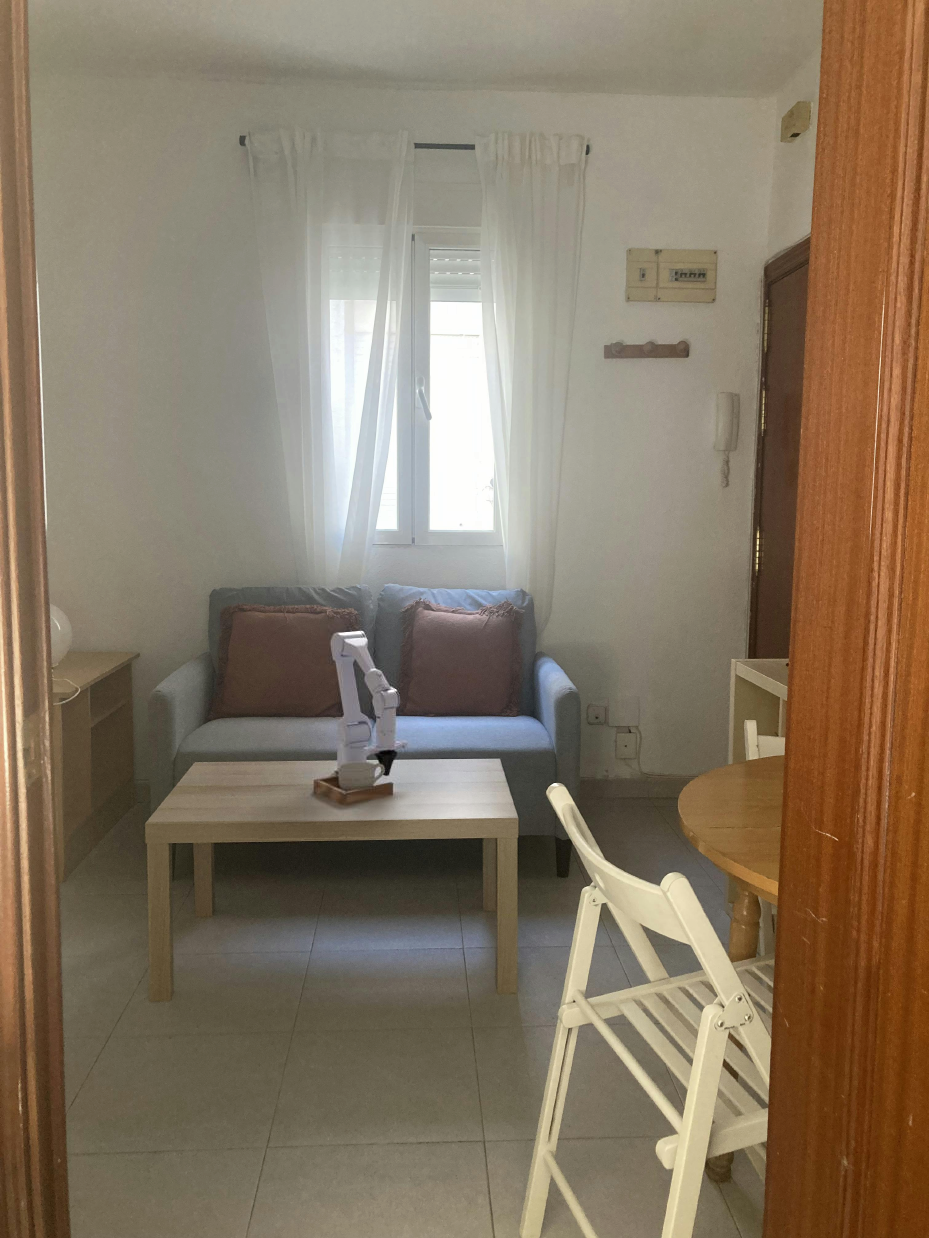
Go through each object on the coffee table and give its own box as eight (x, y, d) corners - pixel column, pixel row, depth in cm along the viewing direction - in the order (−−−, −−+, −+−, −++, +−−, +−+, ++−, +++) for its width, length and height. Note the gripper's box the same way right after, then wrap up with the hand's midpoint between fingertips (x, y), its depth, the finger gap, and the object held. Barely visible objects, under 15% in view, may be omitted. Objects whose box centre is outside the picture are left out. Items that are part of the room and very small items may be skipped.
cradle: (313, 791, 273) (313, 779, 273) (361, 781, 284) (361, 770, 284) (344, 805, 261) (344, 793, 261) (393, 794, 272) (393, 783, 271)
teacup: (339, 798, 268) (339, 770, 267) (335, 786, 278) (335, 760, 277) (388, 795, 271) (388, 768, 270) (382, 784, 281) (382, 758, 280)
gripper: (373, 736, 270) (373, 782, 272) (413, 729, 279) (413, 773, 281) (359, 731, 275) (359, 776, 277) (399, 724, 285) (399, 768, 286)
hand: (385, 774), depth 279 cm, fingers closed
